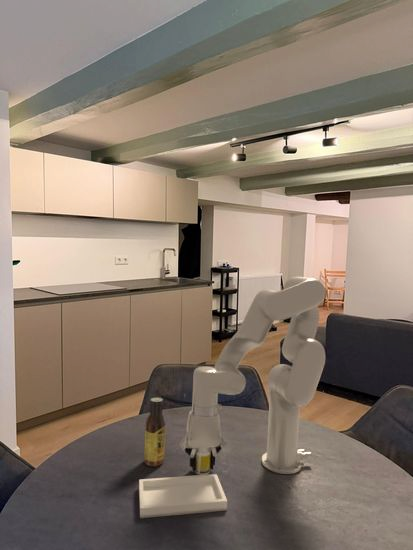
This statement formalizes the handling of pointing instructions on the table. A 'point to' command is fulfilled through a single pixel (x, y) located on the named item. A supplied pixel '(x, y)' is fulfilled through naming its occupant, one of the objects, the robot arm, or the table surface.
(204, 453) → the supplement bottle
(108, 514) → the table surface
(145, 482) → the tray
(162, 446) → the sauce bottle
